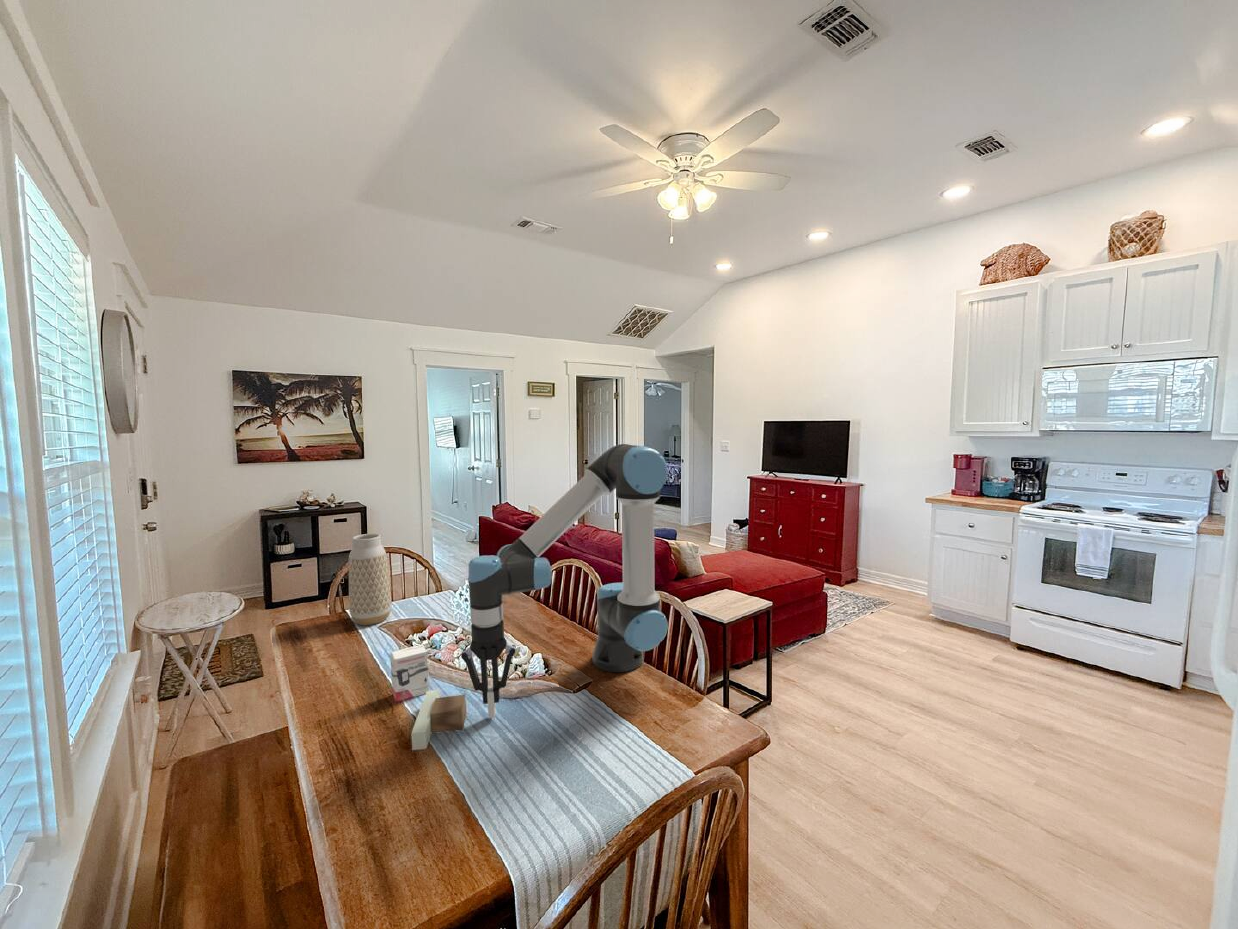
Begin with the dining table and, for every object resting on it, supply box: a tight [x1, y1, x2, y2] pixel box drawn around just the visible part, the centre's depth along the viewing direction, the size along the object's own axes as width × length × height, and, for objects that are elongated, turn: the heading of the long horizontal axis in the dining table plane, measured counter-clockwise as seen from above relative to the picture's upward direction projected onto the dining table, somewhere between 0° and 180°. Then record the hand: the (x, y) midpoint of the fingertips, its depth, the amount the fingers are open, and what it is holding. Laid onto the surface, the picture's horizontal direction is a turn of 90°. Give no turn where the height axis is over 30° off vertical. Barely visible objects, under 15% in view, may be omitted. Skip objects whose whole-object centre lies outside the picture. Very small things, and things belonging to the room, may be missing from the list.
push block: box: [430, 694, 468, 734], centre depth 128 cm, size 7×7×5 cm
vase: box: [348, 533, 392, 626], centre depth 190 cm, size 14×14×31 cm
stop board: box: [411, 689, 441, 751], centre depth 127 cm, size 3×18×4 cm, turn 9°
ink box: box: [389, 644, 430, 703], centre depth 141 cm, size 8×5×12 cm, turn 123°
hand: (492, 714), depth 129 cm, fingers closed
